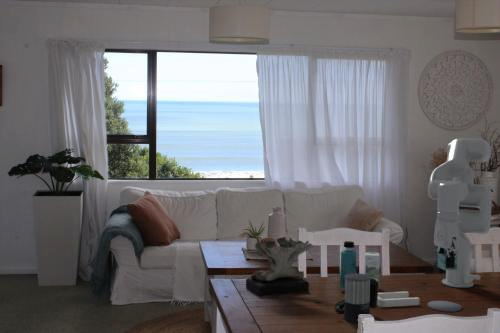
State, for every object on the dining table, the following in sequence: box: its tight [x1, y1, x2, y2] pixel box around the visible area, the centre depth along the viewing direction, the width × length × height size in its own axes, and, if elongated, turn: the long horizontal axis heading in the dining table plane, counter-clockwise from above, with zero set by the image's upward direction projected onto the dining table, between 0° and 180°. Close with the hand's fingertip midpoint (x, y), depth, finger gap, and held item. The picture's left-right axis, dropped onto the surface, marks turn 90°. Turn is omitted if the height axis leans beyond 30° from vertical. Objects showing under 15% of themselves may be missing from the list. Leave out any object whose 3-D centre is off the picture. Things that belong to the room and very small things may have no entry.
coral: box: [245, 236, 314, 297], centre depth 257 cm, size 25×20×22 cm
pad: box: [427, 300, 462, 313], centre depth 239 cm, size 12×12×1 cm
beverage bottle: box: [338, 240, 358, 290], centre depth 258 cm, size 6×7×20 cm
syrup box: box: [363, 251, 381, 291], centre depth 263 cm, size 6×6×14 cm
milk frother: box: [334, 272, 379, 323], centre depth 227 cm, size 14×16×15 cm
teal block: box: [436, 252, 457, 271], centre depth 238 cm, size 5×5×5 cm
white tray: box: [377, 291, 421, 308], centre depth 244 cm, size 16×10×2 cm, turn 104°
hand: (445, 265), depth 238 cm, fingers closed on teal block, 5 cm apart
